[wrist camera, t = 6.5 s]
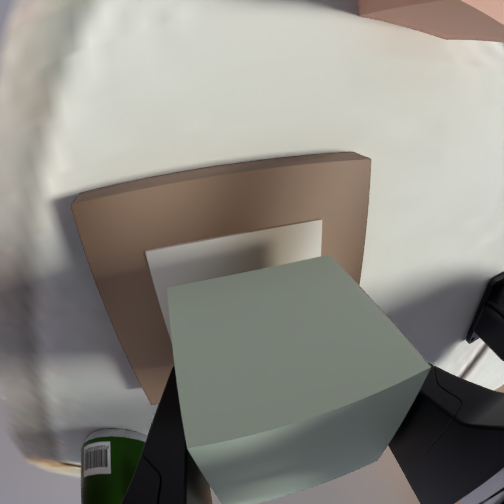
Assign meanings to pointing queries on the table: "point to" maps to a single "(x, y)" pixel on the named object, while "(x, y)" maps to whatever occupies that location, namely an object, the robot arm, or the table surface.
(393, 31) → the table surface
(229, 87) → the table surface
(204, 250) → the tower base
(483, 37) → the dusty pink cube
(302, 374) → the brick sage
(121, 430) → the beer can
